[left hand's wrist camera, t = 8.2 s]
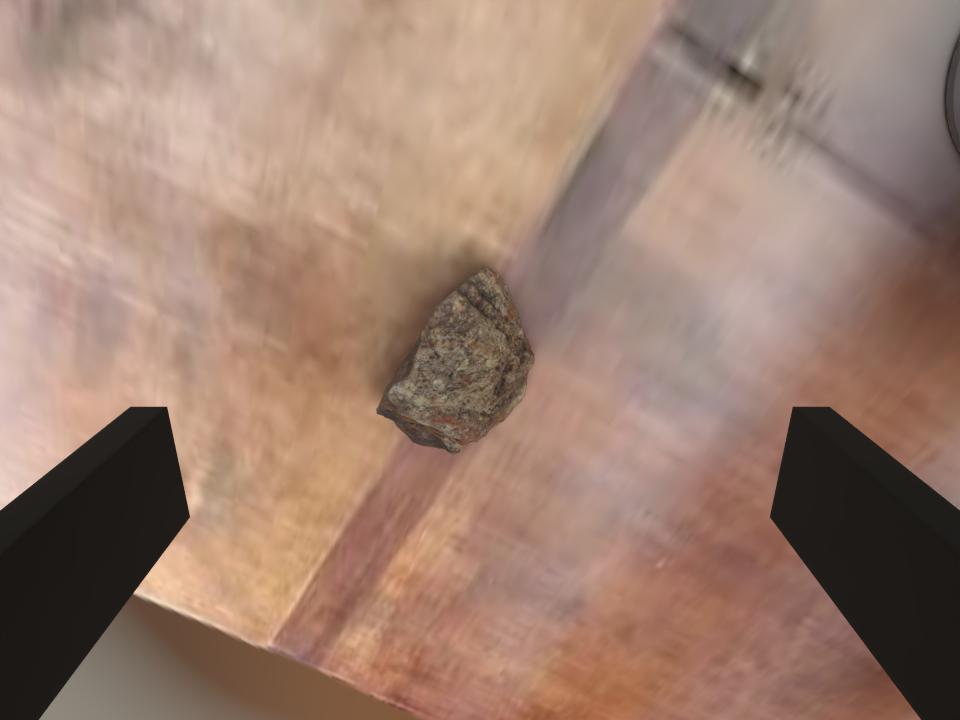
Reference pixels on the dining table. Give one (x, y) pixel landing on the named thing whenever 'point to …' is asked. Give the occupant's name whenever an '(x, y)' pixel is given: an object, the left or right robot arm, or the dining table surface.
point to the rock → (462, 368)
